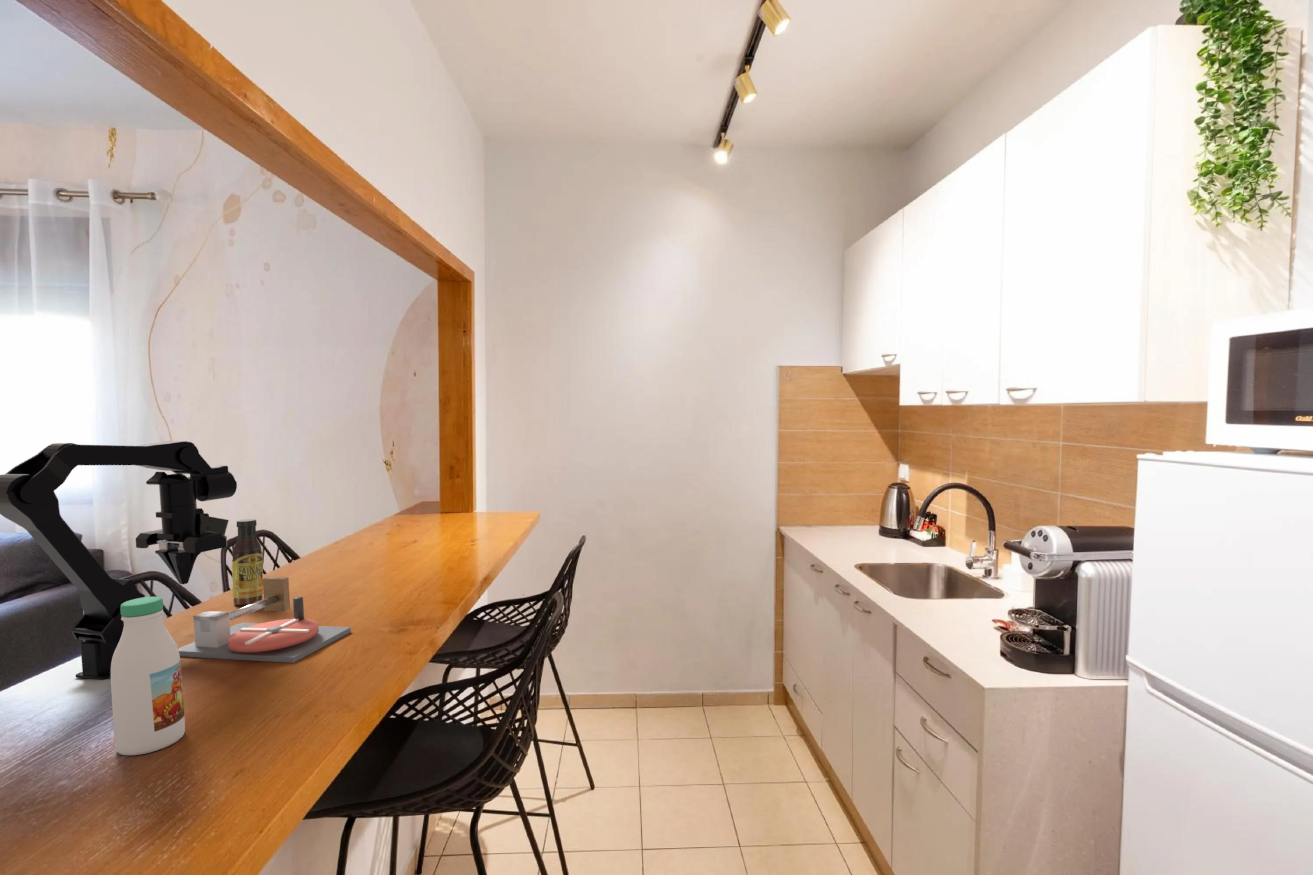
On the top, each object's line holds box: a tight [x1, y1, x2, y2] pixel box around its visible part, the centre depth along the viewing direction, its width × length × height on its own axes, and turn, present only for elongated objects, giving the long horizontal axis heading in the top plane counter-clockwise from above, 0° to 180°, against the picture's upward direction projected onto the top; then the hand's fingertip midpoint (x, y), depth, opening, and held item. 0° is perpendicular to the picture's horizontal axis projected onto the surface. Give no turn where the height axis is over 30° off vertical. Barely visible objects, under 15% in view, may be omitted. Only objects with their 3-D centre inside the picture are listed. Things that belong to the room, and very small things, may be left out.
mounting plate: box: [178, 610, 352, 664], centre depth 129 cm, size 16×26×7 cm, turn 79°
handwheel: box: [228, 596, 320, 652], centre depth 126 cm, size 15×15×6 cm
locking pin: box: [229, 576, 291, 621], centre depth 137 cm, size 13×5×7 cm, turn 169°
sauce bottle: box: [231, 518, 264, 606], centre depth 157 cm, size 7×6×20 cm
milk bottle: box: [110, 596, 186, 756], centre depth 91 cm, size 8×8×20 cm
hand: (184, 583), depth 130 cm, fingers closed
